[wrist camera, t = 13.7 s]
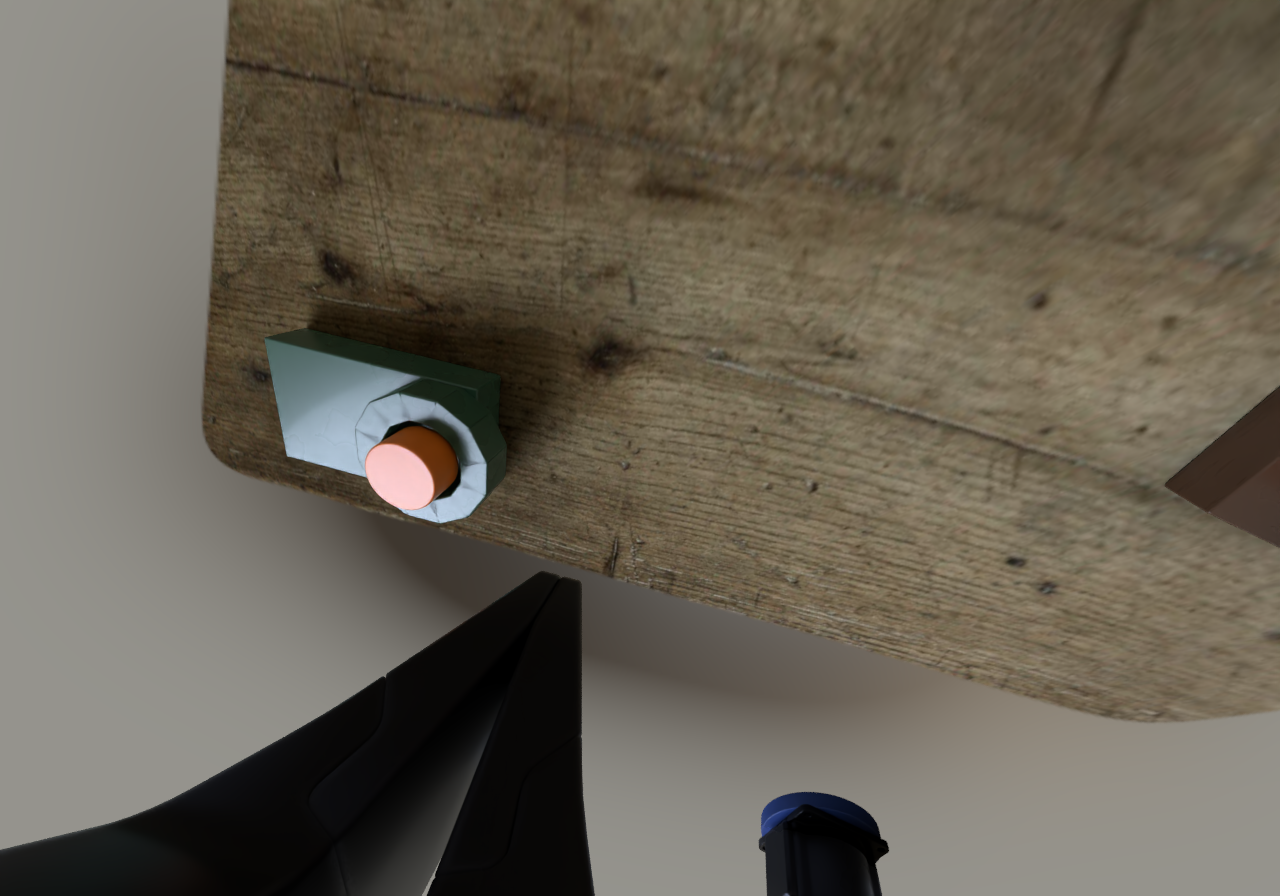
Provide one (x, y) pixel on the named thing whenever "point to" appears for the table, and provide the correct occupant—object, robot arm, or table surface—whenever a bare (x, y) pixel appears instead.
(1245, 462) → the square base
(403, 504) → the button
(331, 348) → the button housing
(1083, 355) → the table surface
